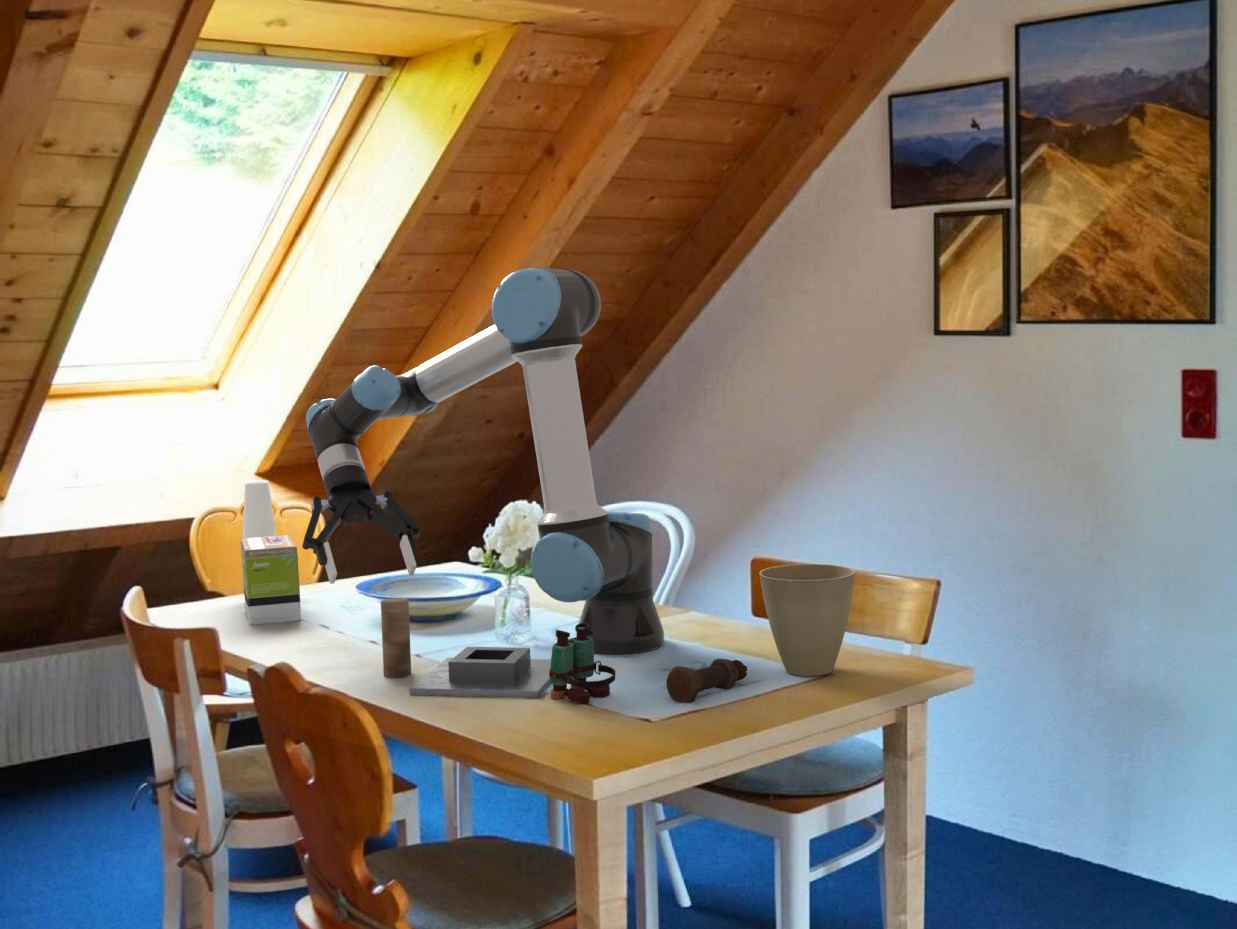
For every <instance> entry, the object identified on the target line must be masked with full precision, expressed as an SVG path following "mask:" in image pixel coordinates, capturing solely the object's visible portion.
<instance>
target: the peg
mask: <svg viewBox="0 0 1237 929" xmlns="http://www.w3.org/2000/svg"><path fill="white" fill-rule="evenodd" d="M409 603H410V601H409V599H408V598H404V597H401V598H399V597H393V598H386V599H383V600H381V601H380V613H381V614H380V616H381V618H380V619H381V620H380V621H381V640H382V644H381V645H382V665H383V667H382V668H383V677H385V678H389V679H390V678H391V679H399V678H400V679H401V678H406V677H409V676H411V675H412V657H411V656H412V654H411V635H410V633H411V630H410V605H409Z"/></svg>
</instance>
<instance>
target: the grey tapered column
mask: <svg viewBox="0 0 1237 929" xmlns="http://www.w3.org/2000/svg"><path fill="white" fill-rule="evenodd" d="M270 488H271V487H270V483H269V480H252V481H251V480H250V481H245V482H244V493H243V494H244V495H243V496H244V501H243V518H242V520H243V522H242V539H246V538H256V537H267V536H277V532H276V530H277V529H276V524H275V516H274V509H273V504H272V496H271V489H270Z"/></svg>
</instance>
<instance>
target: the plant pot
mask: <svg viewBox="0 0 1237 929" xmlns="http://www.w3.org/2000/svg"><path fill="white" fill-rule="evenodd" d="M758 573H759V579H760V585H761V587H760V588H761V591H762V599H763V602H764V609H765V611H766V615H767V620H768V623H769V627H770V630H771V634H772V636H773V640H774V643H775V646H776V650H777V652H778V654H779V657H780V660H781V662H782V665H783V667H784V670H785V671H786V673H788V674H790V675H793V676H799V677H818V676H819V677H821V676H824V675H829V674H830V673H832V672H833V671H834V669H835V665H836V663H837V660H838V657H839V654H840V650H841V648H842V644H843V642H844V641H843V640H844V639H845V638H844V637H845V633H846V629H847V625H848V622H849V621H848V620H849V616H850V611H851V605H852V600H853V599H852V598H853V591H854V585H855V576H856V571H855V569H853V568H851V567H848V566H843V565H838V564H825V563H797V564H794V563H793V564H786V565H785V564H784V565H778V566H772V567H767V568H764V569H762V570H760V571H759V572H758Z"/></svg>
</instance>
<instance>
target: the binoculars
mask: <svg viewBox="0 0 1237 929" xmlns="http://www.w3.org/2000/svg"><path fill="white" fill-rule="evenodd" d="M574 629H575V632H577V637H576V636H575V637H570V636H571V633H570V632H568V631H564V630H559V629H556V630H555V637H556V638H557V639H556V642H555V643H553V645H552V649H551V666H550V670H549V676H550V679H549V682H550V683H551V684H550V685H553V688H552V689H550V691H549V692H550V694H549V695H550V698H552V699H563V698H565V697H566V698H567V699H568V701H570V702H572V703H575V704H581V705H582V704H585V705H586V704H589V703H590V699H591V698H595V699H604V698H607V697H609V696H610V691H611V686H610V685H611V684H612V683H614V682H615V680H616V669H614V668H613V667H611V666H608V665H604V664H602V661H600V660H596V661H595V652H594V641H593V639H592V638H590V637H587V632H589V624H588V623H580V624H579V623H577V624H576V625H575V627H574ZM597 663H599V664H597ZM601 673H606V674H610V675H612V676H610V677H608V678H605V679H601V680H589V681H588V680H587V678H591V677H593V676H594V674H597V675H601ZM568 685H570V686H569V688H567V686H568Z"/></svg>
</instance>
